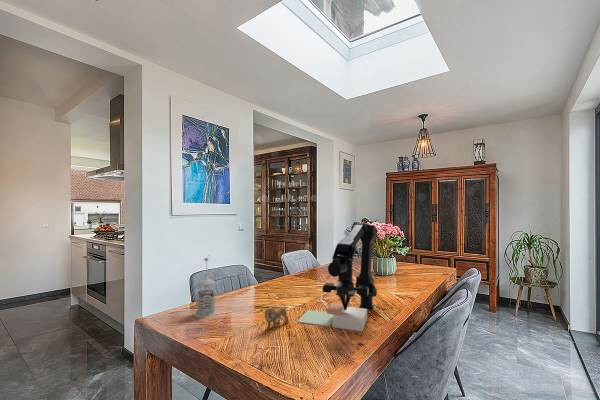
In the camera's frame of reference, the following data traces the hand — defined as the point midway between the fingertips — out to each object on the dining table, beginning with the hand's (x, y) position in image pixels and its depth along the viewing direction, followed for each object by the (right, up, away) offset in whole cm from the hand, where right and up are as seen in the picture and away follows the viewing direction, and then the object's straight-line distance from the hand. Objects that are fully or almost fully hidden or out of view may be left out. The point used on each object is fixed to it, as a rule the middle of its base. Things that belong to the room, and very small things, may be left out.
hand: (345, 309), depth 127 cm
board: (+2, -5, -1) cm, 6 cm away
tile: (-4, -1, +1) cm, 4 cm away
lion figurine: (-28, -5, -5) cm, 29 cm away
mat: (-11, -5, +4) cm, 13 cm away
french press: (-62, -5, +9) cm, 63 cm away
